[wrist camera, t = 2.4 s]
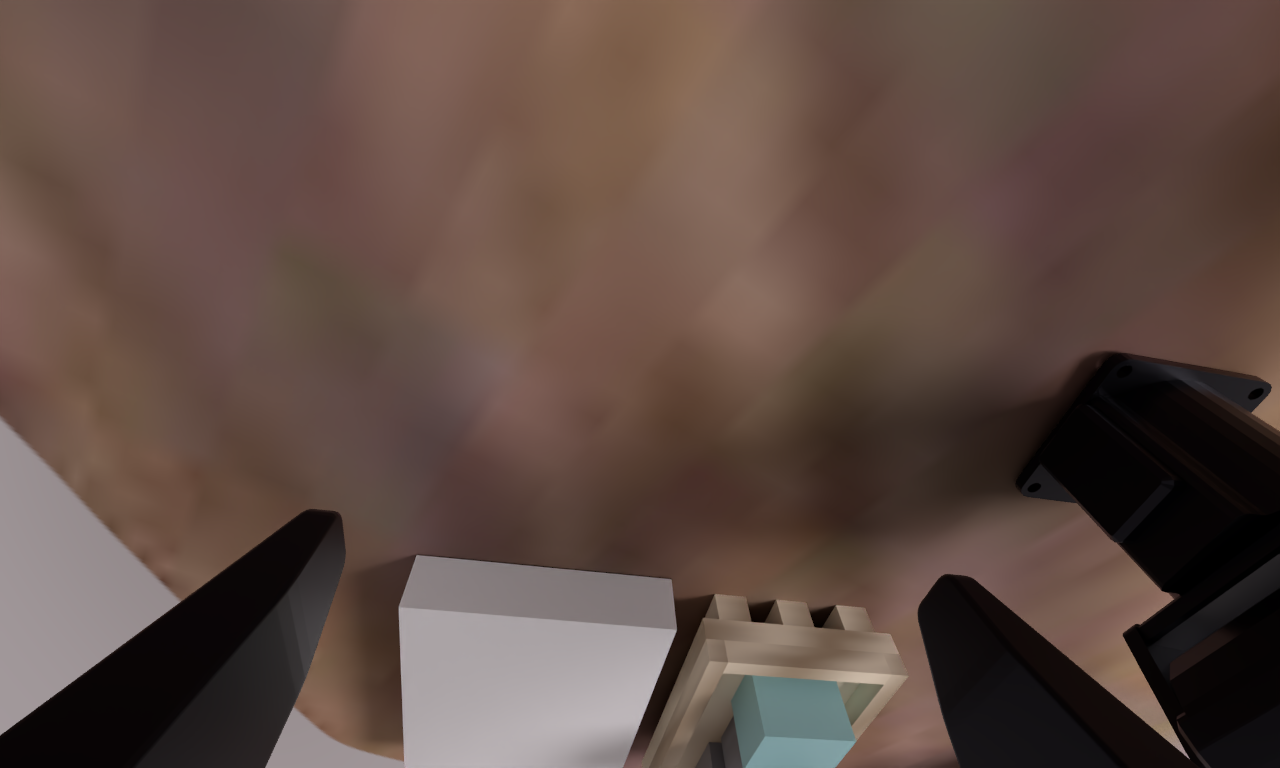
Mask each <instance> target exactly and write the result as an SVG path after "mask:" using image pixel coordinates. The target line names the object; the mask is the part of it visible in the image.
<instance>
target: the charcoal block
mask: <svg viewBox="0 0 1280 768" xmlns="http://www.w3.org/2000/svg"><path fill="white" fill-rule="evenodd" d="M695 768H725V761H724V755H723V748H722V743H717V742H709V743H708V745H707V747H706V749H705V750H704V752H703V754H702V756H701V758H700V760H699V762H698V763H697V765H696V767H695Z"/></svg>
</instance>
